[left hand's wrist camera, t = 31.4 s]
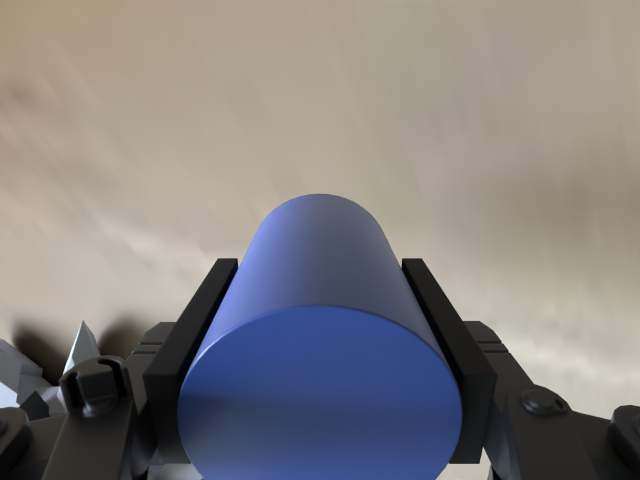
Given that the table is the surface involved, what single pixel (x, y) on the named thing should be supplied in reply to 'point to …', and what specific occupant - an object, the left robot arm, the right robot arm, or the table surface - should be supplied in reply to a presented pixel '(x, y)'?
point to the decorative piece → (45, 400)
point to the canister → (319, 360)
